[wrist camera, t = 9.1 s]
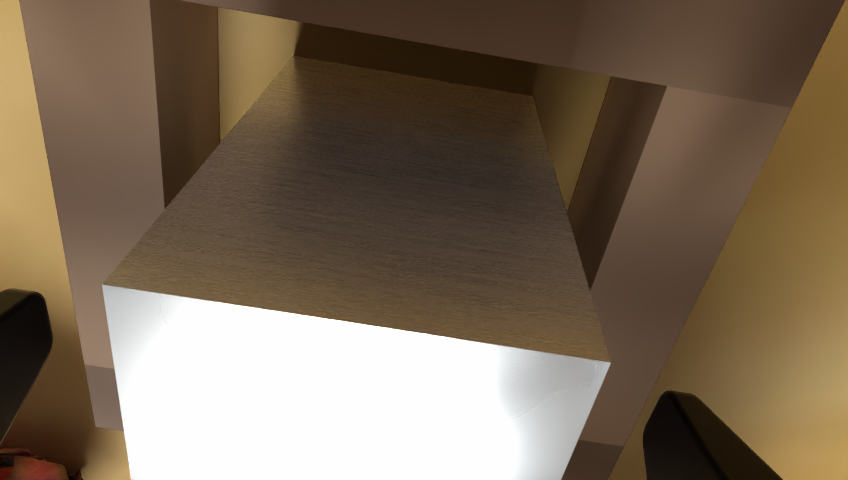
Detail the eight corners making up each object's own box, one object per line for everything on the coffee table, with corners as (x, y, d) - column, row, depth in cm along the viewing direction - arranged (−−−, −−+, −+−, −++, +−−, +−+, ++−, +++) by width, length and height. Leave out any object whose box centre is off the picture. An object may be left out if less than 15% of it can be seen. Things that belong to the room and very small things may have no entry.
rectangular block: (483, 287, 16) (500, 621, 9) (285, 256, 15) (145, 572, 9) (532, 96, 13) (610, 362, 6) (293, 55, 13) (101, 284, 6)
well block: (577, 407, 17) (597, 501, 15) (150, 341, 17) (95, 426, 14) (769, -55, 11) (858, -29, 9) (98, -179, 11) (-15, -191, 8)
